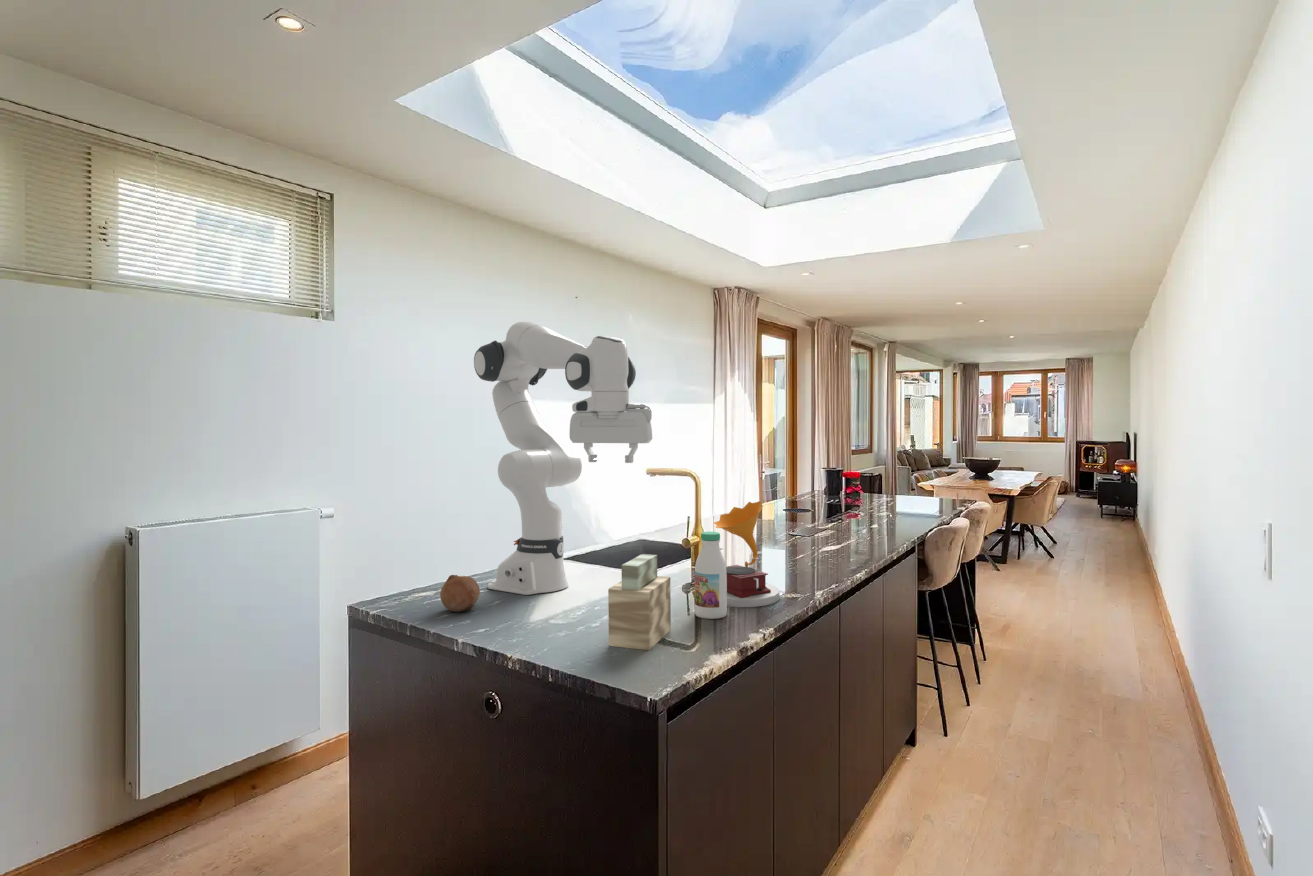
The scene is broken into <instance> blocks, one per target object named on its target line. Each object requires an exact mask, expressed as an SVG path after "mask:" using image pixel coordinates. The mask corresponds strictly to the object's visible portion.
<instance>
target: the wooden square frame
mask: <svg viewBox="0 0 1313 876" xmlns="http://www.w3.org/2000/svg"><path fill="white" fill-rule="evenodd" d="M607 590H608V592H607V593H608V595H607V596H608V598H607V599H608V600H607V601H608V602H607V603H608V604H607V605H608V646H609V647H610V646H611V647H619V648H624V649H625V648H626V649H634V650H642V651H643V650H645V651H650V650H651V649H652V648H653V647H654V646H656V644H658V642H660V641H661V639H663V638H664V637H665V636H666V635H667V634H668V633H669V632H670V631H671V629H672V626H671V625H672V624H671V623H672V622H671V613H672V612H671V605H672V604H671V603H672V602H671V576H661V575H657V578H655V579H654V580H652V582H651V583H650V584H648V585H647V586H645V587H644V588H640V589H639V590H629V589H622V580H621V581H619V582H617V583H616V584H613V585H612V586H610V587H609V588H608V589H607Z"/></svg>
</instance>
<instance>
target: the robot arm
mask: <svg viewBox="0 0 1313 876" xmlns="http://www.w3.org/2000/svg"><path fill="white" fill-rule="evenodd" d="M628 355H629V354H628V347H627V344H626V342H625V340H624V339H622V338H621V337H618V336H617V337H616V336H608V335H597V336H595V337H593V338H592V339H591V342H590V344H589V346H585V345H583V344H581V343H578V342H576V341H575V340H572V339H570V338H568V337H565V336H563V335H562V334H559V333H557V332H556V331H554V330H552V329H550V328H548V327H545V326H543V325H541V324H538V323H536V322H535V323H534V322H530V321H518V322H516V323H515V322H514V324H512V325H511V326H510V327H509V329H508V331H507V332H506V336H505V340H504V341H501V342H499V341H497V340H493V341H491V342H489V343H486V344H484V345H482V346H480V347H479V348H478V349H477V350H476V351H475V353H474V357H473V366H474V367H473V368H474V371H475V373H476V375H477V377H479V379H480V380H482V381H485V382H486V381H487V382H491V383H493V382H497V383H496V384H495V385H494V387H493V388H492V392H491V393H492V400H493V404H494V405H493V406H494V408H495V409H494V410H495V412H496V415H497V418H498V420H499V423H500V425H501V427H502V430H503V432H504V435H505V438H506V439H507V442H508V443H509V444H511V445H512V447H515V448H518V449H519V450H515V451H511V452H509V453H508V452H507V453H506V454H504V455H503V456H502V457H501V458H500V459H499V462H498V464H497V465H498V466H497V474H498V479H499V481H500V482H501V484H502V486H504V487H505V488H507V489H508V490H509V491H510V492H511V493H512V494H513V496H514V497H515V499H516V501H517V504H518V507H519V510H520V517H521V537H519V538H517V540H514V541H513V545H514V546H517V547H516V550H515V551H514V552H513V553H511V554H510V555H509V556H508V557H506V558H505V559H504V560H503V561H501V562H500V563H499V564H498V566H497V571H496V577H495V579H493V580H491V581H489V582H488V584H487V589H490V590H494V591H499V592H500V591H501V592H507V593H512V594H519V595H524V596H529V595H535V594H542V593H551V592H557V591H560V590H564V589H566V588H568V587H569V582H568V580H567V576H566V571H565V564H564V551H565V550H564V549H565V546H564V545H565V544H564V536H563V535H562V534H563V533H562V523H563V521H562V517H563V516H562V510H561V508H560V506H559V505H557V503H555V502H553V501H552V500H550V499H549V497H548V494H547V489H546V488H554V487H563V486H567V485H569V484H571V483H574V482H576V481H578V480H579V478H580V476H581V474H582V468H583V467H582V466H583V465H582V460H581V458H580V455H579V454H578V453H577V451H575V450H572V449H571V448H569V447H567V446H566V445H564V444H563V443H561V442H560V441H559V440H558V439H557V438H556V437H555V436H554V435H553V434H552V433H551V432H550V431H549V430H548V428H547V426H546V425H545V423H544V422H543V419H542V418H541V416H540V413H539V412H538V409H537V407H536V405H535V403H534V401H533V399H532V397H531V395H530V392H529V385H530V386H536V385H537V384H538V383H539V380H540V379H542V378H543V377H544V375H545V374H546V373H547V370H564V373H565V374H564V375H565V380H566V382H567V384H568V385H569V387H570V388H571V389H573V390H575V391H579V392H590V393H591V394H590V395H591V396H589V397H587V398H584V399H582V400H579V401H576V402H574V403H573V404H572V405H571V408H572V412H573V414H572V415H571V416H570V417H571V418H570V421H569V440H570V441H571V442H572V444H573V443H574V444H583V449H584V450H585V452H586V454H587V456H588V458H587V459H588V462H589V463H596V462H598V454H594V452H593V447H594V444H628V448H629V449H630V451H629V453H628V454H625V455H624V462H625V464H632V463H634V455H635V454H636V452H637V450H638V449H639V444H649V443H650V442H652V440H653V429H652V423H651V421H652V409H651V407H650V406H648V405H647V404H645V403H639V404H638V403H637V404H636V403H629V400H630V398H629V397H630V394H629V393H630V392H629V389H630V388H631V387H632V385H633V384H634V382H635V380H636V374H637V373H636V366H635V364H634V363H633V361H632V359H631V358H630V357H629V356H628Z"/></svg>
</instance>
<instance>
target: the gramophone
mask: <svg viewBox="0 0 1313 876" xmlns="http://www.w3.org/2000/svg"><path fill="white" fill-rule="evenodd" d="M761 504H762V503H761V501H755V502H751V501H748V502H747V504H745V505H744V506H743V507H742V508H741V507H737V506H736V507H735V506H733V507H732V509H731V510H730V512H728V513H723V514H720V516H719V520H718V521H715V522H713V524H714V525H716V526H715V528H717V529H722V530H724V531H727V532H728V533H730V534H732V535H734V536H738V537H740V538H742V539H743V540H744V542H745V543H746V544H747V545H748V546H749V549H751V551H752V556H751V562H748V561H745V562H744V566H743V565H740V564H734V565H727V566H726V573H727V607H732V608H733V607H737V608H754V607H755V608H756V607H764V606H768V605H769V606H770V605H772V604H775V603H776V602H778V601H779V600H780V588H778V587H777V586H776V585H774V584H770V583H766V581H767V580H766V576H768V575H769V573H767V572H764V571H760V570H758V558H759V557H758V547H757V544H756V543H757V542H756V541H755V537H754V530H755V527H756V524H757V521H758V518H759V513H760V512H761V511H762V509H763V507H764V505H761ZM752 565H753V567H749V566H752Z"/></svg>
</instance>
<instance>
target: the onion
mask: <svg viewBox="0 0 1313 876" xmlns="http://www.w3.org/2000/svg"><path fill="white" fill-rule="evenodd" d="M439 593H440V594H439V596H440V597H439V598H440V601H441V604H442V605H443V606H444V608H445V609H446V610H447V611H449V612H452V611H453V612H455V613H456V612H457V613H459V612H461V613H465V612H469V611H471V610H472V609H473V608H474V607H475V605H476V603H477V601H478V600H479V597H480V594H481V591H480V585H479V584H478V582H477V581H476V580H475V579H474V578H472V577H471V576H466V575H460V576H459V575H458V574H451V575H449V576H448V578H447V579H446V580H445V583H444V584H443V585H442V586H441V590H440V592H439Z"/></svg>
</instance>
